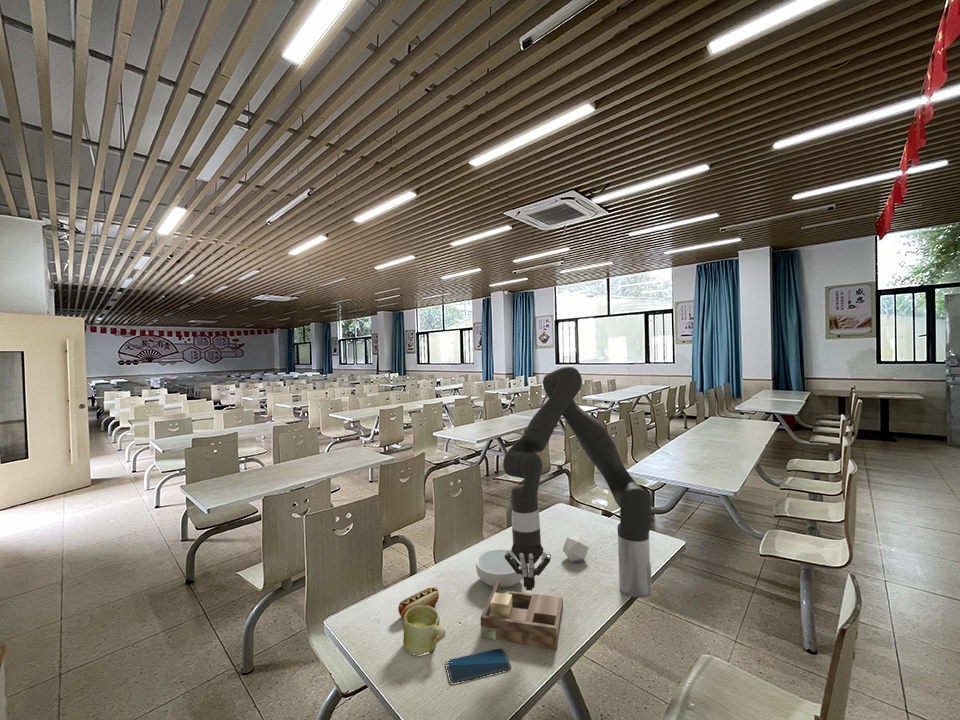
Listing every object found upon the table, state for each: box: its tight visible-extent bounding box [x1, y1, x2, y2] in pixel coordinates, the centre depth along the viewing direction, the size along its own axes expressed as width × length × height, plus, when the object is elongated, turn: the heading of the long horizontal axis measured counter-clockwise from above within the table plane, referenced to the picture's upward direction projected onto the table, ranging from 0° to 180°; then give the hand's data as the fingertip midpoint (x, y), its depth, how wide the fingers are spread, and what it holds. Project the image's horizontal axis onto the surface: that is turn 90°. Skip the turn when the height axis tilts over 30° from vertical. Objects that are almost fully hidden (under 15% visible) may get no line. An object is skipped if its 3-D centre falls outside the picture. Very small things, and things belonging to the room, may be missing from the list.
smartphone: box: [445, 647, 512, 683], centre depth 102 cm, size 8×15×1 cm, turn 105°
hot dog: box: [397, 586, 440, 619], centre depth 125 cm, size 5×13×5 cm, turn 132°
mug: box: [402, 605, 447, 656], centre depth 109 cm, size 12×10×10 cm
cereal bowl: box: [475, 548, 523, 589], centre depth 139 cm, size 17×17×7 cm
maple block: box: [490, 593, 513, 619], centre depth 116 cm, size 5×5×5 cm
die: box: [562, 535, 590, 563], centre depth 152 cm, size 8×9×10 cm
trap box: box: [480, 581, 564, 650], centre depth 118 cm, size 20×18×6 cm
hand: (529, 588), depth 113 cm, fingers closed
